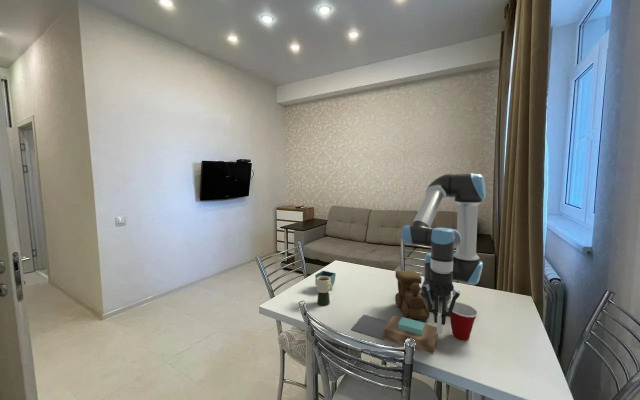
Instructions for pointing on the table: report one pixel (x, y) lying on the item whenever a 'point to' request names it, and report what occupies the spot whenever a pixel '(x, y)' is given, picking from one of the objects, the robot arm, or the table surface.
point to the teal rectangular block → (411, 326)
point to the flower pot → (326, 273)
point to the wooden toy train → (410, 296)
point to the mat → (371, 326)
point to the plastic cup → (462, 320)
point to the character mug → (323, 289)
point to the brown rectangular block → (412, 335)
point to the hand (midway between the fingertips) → (439, 331)
